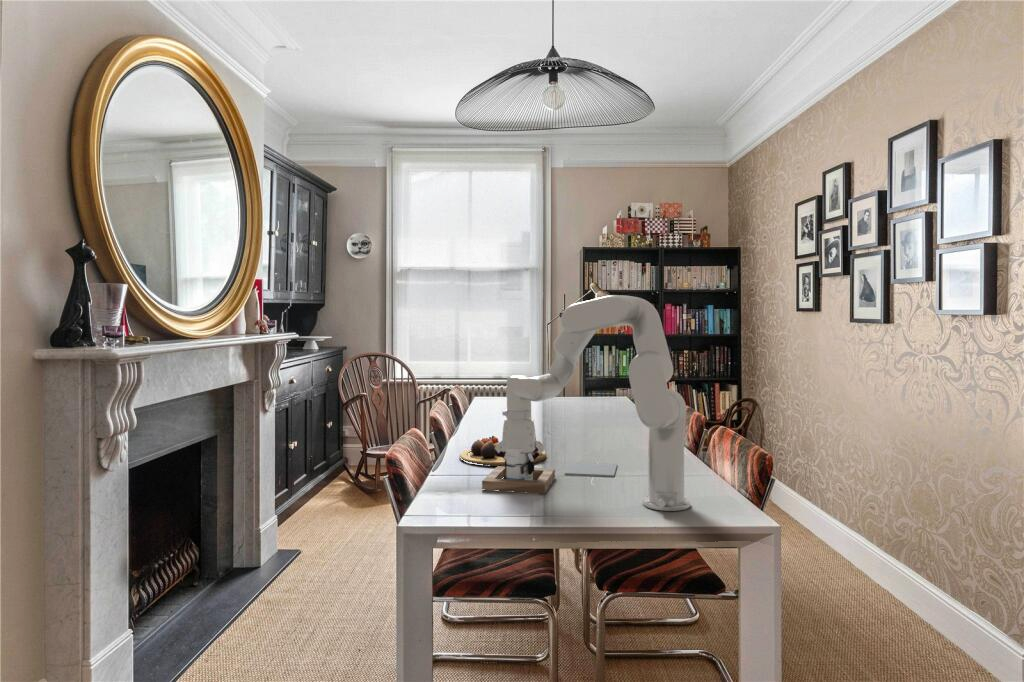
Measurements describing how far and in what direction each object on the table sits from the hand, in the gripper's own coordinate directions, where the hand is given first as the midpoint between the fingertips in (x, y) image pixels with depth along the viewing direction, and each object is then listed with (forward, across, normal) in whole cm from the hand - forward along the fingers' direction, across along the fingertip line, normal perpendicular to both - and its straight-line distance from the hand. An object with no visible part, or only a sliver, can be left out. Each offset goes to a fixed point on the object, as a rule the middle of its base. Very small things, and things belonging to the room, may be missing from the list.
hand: (519, 472), depth 198 cm
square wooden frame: (+4, 0, 0) cm, 4 cm away
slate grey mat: (+4, +20, +22) cm, 30 cm away
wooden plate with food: (+4, -14, +36) cm, 38 cm away
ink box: (+4, 0, 0) cm, 4 cm away
